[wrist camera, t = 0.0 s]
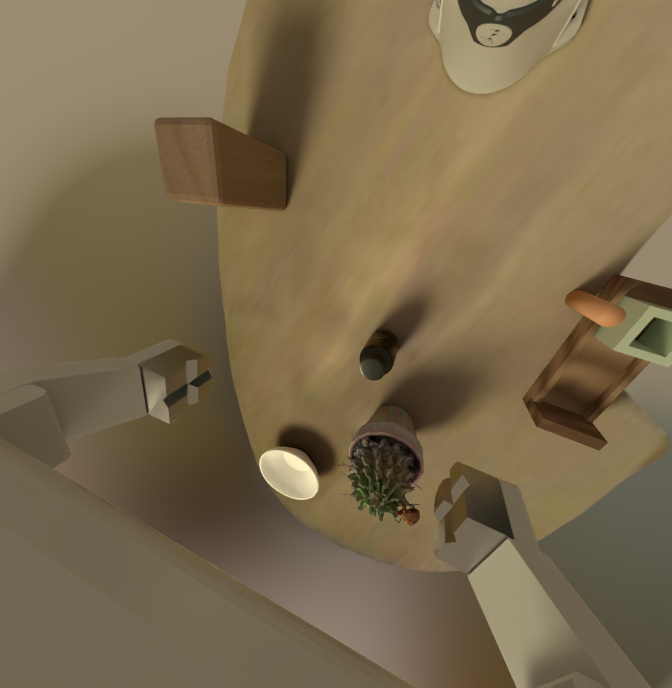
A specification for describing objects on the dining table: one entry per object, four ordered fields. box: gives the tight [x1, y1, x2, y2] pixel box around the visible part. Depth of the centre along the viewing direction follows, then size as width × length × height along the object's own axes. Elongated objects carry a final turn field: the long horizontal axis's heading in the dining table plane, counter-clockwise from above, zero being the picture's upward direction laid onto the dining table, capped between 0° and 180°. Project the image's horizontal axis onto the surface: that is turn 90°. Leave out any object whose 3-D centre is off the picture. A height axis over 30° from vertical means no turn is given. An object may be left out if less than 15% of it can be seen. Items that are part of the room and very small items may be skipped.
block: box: [154, 118, 286, 211], centre depth 44 cm, size 10×10×20 cm
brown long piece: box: [523, 274, 672, 450], centre depth 43 cm, size 26×10×8 cm, turn 166°
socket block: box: [593, 296, 672, 367], centre depth 39 cm, size 7×7×6 cm
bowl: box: [259, 447, 319, 500], centre depth 81 cm, size 20×20×7 cm
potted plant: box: [338, 405, 423, 526], centre depth 56 cm, size 18×20×25 cm
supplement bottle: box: [360, 331, 399, 380], centre depth 54 cm, size 7×7×12 cm
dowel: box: [565, 290, 626, 327], centre depth 40 cm, size 3×3×10 cm
